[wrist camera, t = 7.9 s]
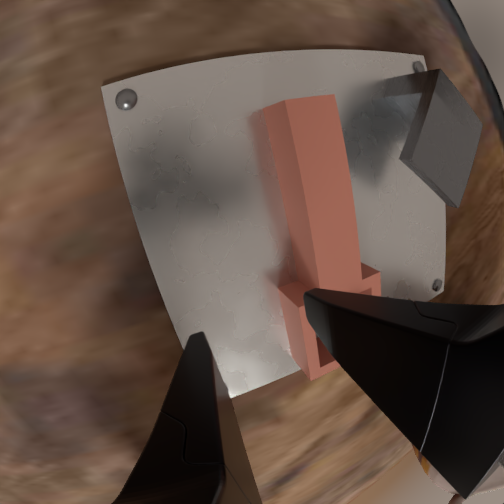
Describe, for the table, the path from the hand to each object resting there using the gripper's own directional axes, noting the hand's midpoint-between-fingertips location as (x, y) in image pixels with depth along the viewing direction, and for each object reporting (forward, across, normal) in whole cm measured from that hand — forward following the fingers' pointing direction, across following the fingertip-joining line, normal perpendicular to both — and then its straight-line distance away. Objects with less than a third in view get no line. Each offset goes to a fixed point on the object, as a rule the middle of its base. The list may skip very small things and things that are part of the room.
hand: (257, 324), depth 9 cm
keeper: (+10, -16, -3) cm, 19 cm away
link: (+10, -7, +2) cm, 12 cm away
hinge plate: (+10, -9, +1) cm, 13 cm away
